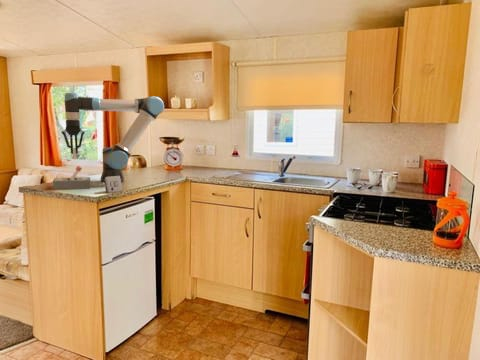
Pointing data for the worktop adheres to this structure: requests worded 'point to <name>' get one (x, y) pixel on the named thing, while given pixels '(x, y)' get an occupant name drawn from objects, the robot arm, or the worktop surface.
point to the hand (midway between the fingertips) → (74, 159)
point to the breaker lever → (76, 172)
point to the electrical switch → (113, 184)
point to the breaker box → (71, 183)
